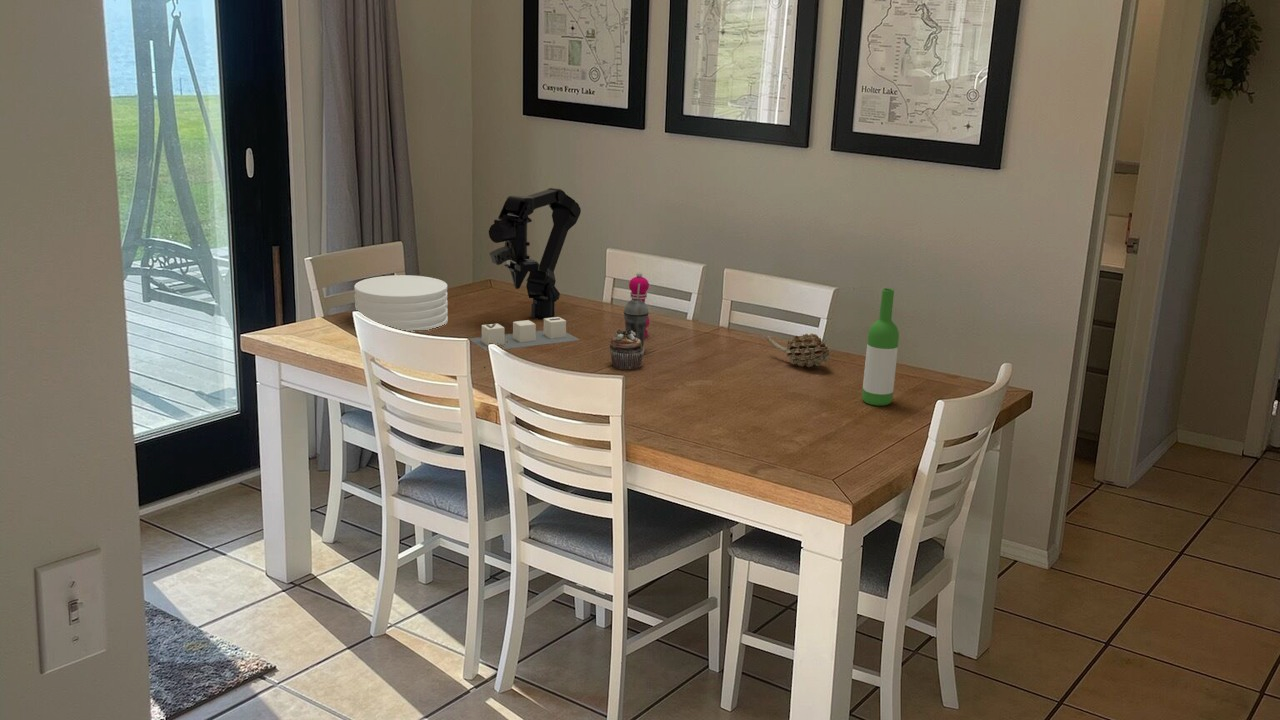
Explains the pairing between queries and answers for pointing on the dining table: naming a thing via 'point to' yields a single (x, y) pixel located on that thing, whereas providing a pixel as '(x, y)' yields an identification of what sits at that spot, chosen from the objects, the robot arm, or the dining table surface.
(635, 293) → the pepper mill
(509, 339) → the mat
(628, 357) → the cupcake
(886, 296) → the wine bottle
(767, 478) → the dining table surface
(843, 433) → the dining table surface
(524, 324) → the plain block
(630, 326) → the beverage cup
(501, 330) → the block seven
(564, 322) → the block one
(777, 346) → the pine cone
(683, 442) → the dining table surface
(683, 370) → the dining table surface
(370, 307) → the plate stack
